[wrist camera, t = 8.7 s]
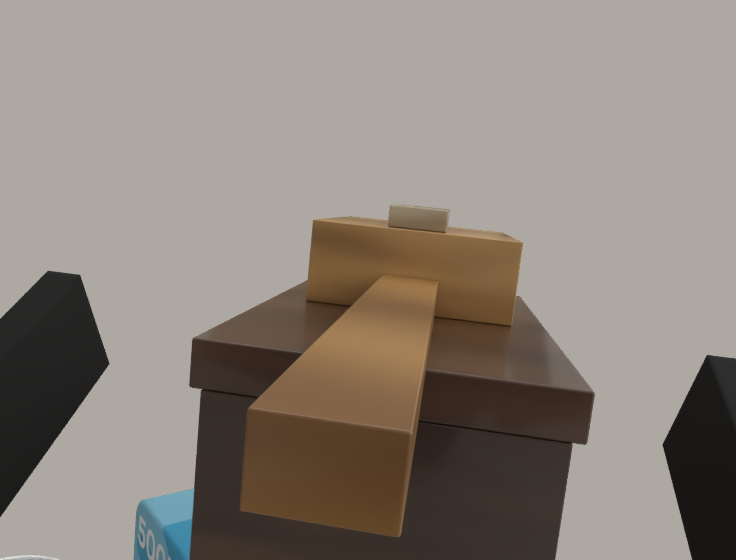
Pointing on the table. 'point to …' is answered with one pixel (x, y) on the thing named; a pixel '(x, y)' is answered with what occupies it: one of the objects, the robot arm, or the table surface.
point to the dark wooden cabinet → (432, 445)
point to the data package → (164, 527)
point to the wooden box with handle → (369, 365)
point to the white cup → (29, 558)
